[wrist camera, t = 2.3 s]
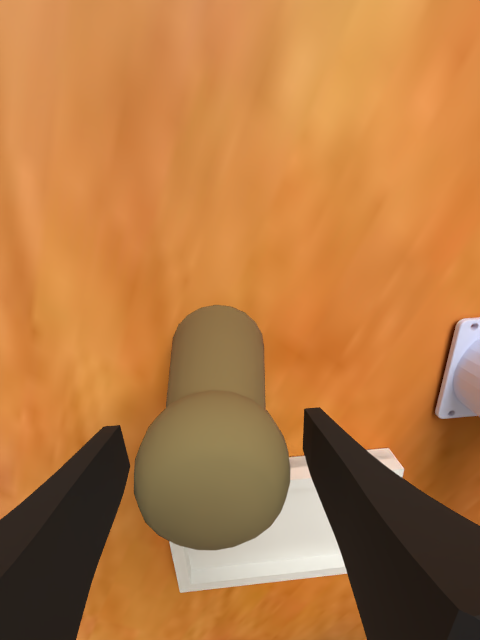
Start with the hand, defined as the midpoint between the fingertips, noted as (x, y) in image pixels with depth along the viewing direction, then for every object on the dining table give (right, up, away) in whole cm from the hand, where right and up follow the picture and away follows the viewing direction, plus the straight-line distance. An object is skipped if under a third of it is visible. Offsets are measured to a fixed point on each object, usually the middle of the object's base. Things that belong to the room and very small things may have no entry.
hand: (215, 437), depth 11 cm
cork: (0, +3, +8) cm, 8 cm away
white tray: (+4, -12, +13) cm, 18 cm away
